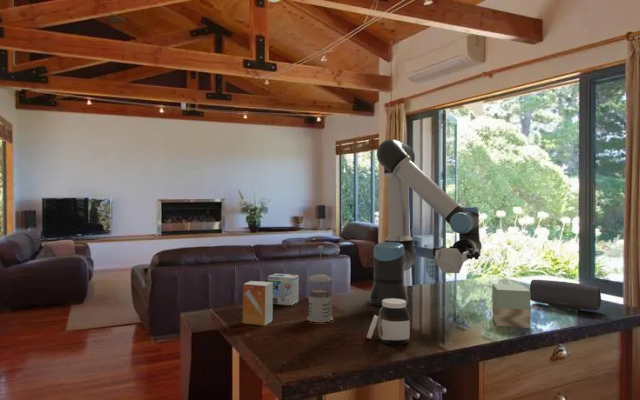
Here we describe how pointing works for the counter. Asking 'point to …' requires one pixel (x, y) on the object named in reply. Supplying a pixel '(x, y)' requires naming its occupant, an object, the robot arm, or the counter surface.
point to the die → (450, 260)
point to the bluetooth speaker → (565, 295)
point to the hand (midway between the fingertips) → (449, 256)
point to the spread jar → (392, 322)
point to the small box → (257, 302)
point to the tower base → (511, 317)
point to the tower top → (511, 296)
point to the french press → (320, 298)
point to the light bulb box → (284, 288)
